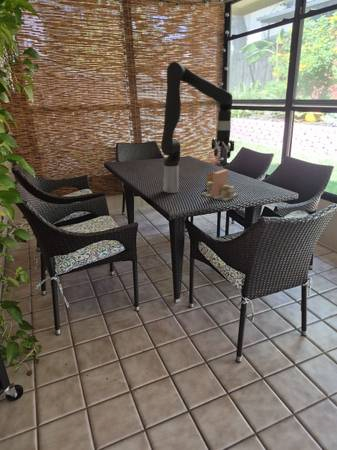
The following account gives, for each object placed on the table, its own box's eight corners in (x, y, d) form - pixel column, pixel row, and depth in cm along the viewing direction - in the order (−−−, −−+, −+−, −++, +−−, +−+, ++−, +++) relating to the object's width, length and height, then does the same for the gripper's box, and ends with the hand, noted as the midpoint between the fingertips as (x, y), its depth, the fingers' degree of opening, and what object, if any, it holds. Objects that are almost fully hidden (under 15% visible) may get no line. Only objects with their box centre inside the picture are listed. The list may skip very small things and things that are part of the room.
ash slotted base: (201, 195, 195) (201, 184, 192) (214, 190, 204) (214, 179, 201) (225, 201, 183) (226, 189, 180) (238, 195, 193) (239, 184, 190)
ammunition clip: (207, 189, 206) (208, 171, 201) (205, 189, 208) (206, 171, 203) (220, 187, 211) (220, 169, 206) (218, 186, 212) (219, 169, 208)
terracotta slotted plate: (212, 195, 190) (213, 172, 185) (223, 191, 198) (224, 169, 193) (216, 196, 188) (217, 173, 183) (226, 192, 196) (228, 170, 191)
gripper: (209, 128, 180) (208, 156, 186) (230, 130, 171) (228, 159, 178) (217, 127, 185) (215, 154, 192) (238, 129, 176) (235, 157, 183)
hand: (221, 157), depth 185 cm, fingers open, 8 cm apart
